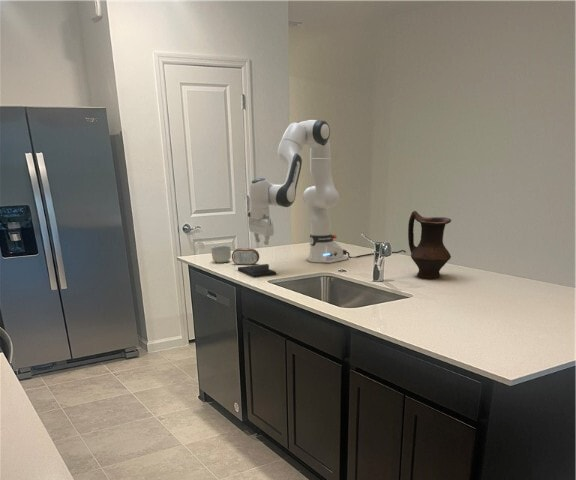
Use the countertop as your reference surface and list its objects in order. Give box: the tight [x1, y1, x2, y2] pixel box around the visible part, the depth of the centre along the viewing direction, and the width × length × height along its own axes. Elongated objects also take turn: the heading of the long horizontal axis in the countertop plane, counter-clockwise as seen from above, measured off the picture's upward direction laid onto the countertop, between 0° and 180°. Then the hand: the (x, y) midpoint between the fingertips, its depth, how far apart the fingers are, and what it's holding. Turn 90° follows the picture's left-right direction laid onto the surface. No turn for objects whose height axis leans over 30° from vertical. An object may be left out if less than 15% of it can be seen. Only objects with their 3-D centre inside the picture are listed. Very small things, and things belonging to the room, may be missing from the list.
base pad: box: [237, 265, 253, 274], centre depth 283 cm, size 12×10×2 cm
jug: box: [407, 210, 452, 280], centre depth 258 cm, size 21×18×30 cm
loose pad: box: [245, 263, 277, 278], centre depth 275 cm, size 12×13×4 cm
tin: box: [231, 248, 260, 266], centre depth 297 cm, size 15×3×8 cm, turn 84°
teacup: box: [210, 245, 232, 264], centre depth 306 cm, size 14×11×8 cm
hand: (262, 243), depth 270 cm, fingers open, 8 cm apart
